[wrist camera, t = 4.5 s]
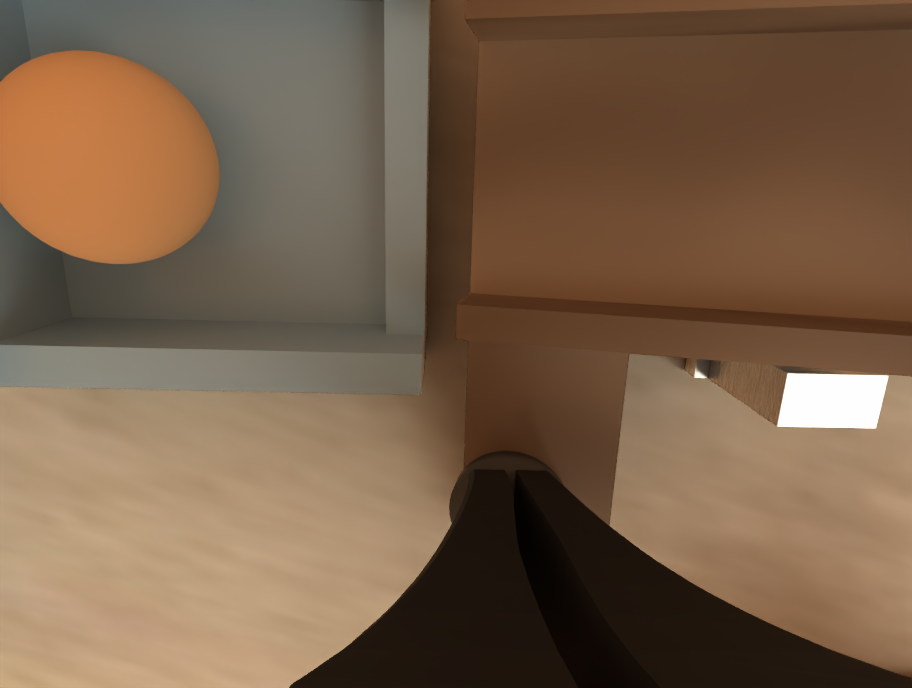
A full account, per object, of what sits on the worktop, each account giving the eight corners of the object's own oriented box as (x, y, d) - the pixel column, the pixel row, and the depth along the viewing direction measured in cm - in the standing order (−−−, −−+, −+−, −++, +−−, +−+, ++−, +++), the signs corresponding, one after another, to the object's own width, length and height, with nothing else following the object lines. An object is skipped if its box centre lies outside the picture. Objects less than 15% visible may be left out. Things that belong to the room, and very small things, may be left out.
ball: (262, 258, 11) (134, 282, 8) (117, 250, 12) (-56, 269, 9) (250, 74, 10) (100, 16, 7) (95, 76, 11) (-110, 24, 8)
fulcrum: (785, 373, 13) (892, 428, 10) (684, 371, 13) (760, 426, 10) (864, -34, 11) (1035, -128, 8) (744, -39, 11) (866, -136, 8)
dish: (425, 357, 13) (418, 415, 9) (47, 348, 12) (-101, 406, 9) (431, -40, 11) (424, -151, 7) (-23, -58, 10) (-252, -182, 7)
